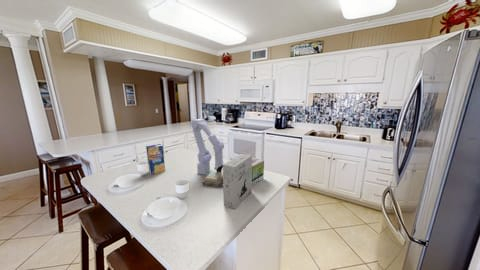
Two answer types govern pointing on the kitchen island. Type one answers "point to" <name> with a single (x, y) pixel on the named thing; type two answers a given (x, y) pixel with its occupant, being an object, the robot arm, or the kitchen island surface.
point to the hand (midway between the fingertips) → (219, 174)
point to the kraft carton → (214, 177)
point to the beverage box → (155, 158)
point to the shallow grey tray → (212, 184)
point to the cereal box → (237, 180)
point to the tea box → (257, 170)
